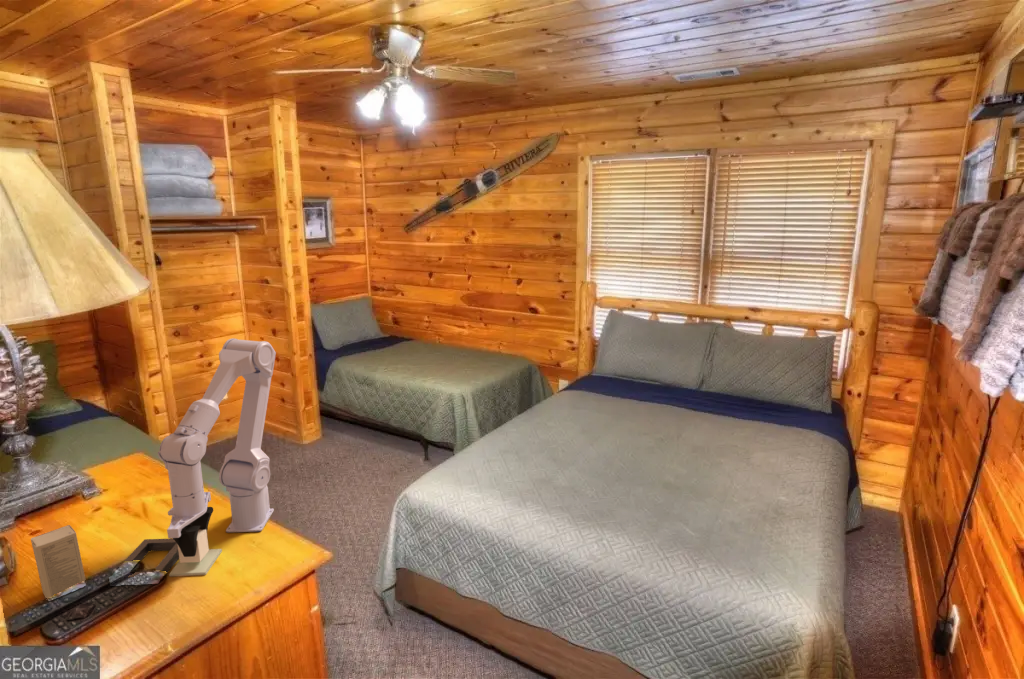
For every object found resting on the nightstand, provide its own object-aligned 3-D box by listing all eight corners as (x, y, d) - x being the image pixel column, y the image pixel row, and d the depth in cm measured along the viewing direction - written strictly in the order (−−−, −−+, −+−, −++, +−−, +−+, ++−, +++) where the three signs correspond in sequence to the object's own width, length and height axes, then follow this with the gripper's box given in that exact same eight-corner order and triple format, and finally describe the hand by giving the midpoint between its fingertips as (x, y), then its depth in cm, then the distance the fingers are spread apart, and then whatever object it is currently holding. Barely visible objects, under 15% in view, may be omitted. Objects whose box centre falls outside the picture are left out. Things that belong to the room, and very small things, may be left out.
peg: (189, 551, 118) (186, 530, 117) (208, 550, 118) (206, 529, 117) (179, 562, 114) (177, 541, 113) (200, 561, 115) (197, 540, 113)
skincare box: (80, 577, 112) (71, 523, 109) (87, 587, 109) (77, 532, 106) (41, 593, 107) (29, 537, 104) (47, 604, 104) (35, 546, 101)
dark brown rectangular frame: (145, 547, 122) (144, 539, 121) (188, 545, 123) (187, 537, 122) (109, 586, 109) (108, 577, 109) (158, 584, 110) (156, 575, 110)
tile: (188, 552, 120) (187, 550, 120) (221, 551, 121) (221, 548, 121) (169, 576, 113) (169, 573, 112) (205, 574, 113) (205, 572, 113)
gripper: (183, 473, 119) (191, 530, 123) (147, 509, 105) (156, 571, 109) (218, 473, 120) (224, 528, 123) (186, 508, 106) (194, 570, 109)
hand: (194, 549), depth 116 cm, fingers closed on peg, 4 cm apart
